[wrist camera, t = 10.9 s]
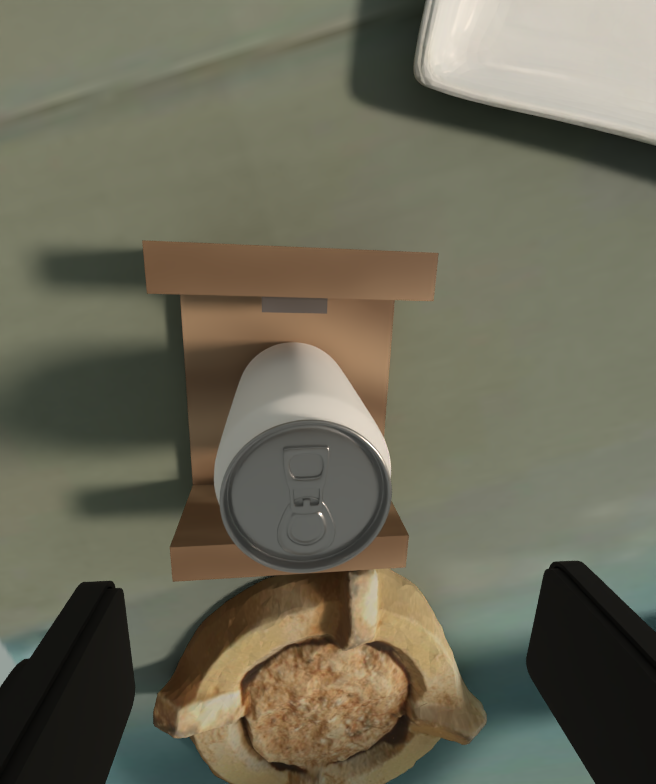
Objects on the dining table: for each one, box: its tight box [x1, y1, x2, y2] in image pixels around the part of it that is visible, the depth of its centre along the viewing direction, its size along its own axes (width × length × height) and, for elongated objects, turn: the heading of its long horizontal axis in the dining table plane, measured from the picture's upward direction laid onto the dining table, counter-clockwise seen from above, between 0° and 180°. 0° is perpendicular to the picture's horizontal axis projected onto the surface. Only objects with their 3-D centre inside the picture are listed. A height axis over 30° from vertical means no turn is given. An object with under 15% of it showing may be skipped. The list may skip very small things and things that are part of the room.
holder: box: [142, 241, 438, 582], centre depth 22 cm, size 16×12×7 cm
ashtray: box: [153, 568, 487, 784], centre depth 31 cm, size 24×24×5 cm
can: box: [214, 342, 392, 573], centre depth 19 cm, size 6×6×12 cm
